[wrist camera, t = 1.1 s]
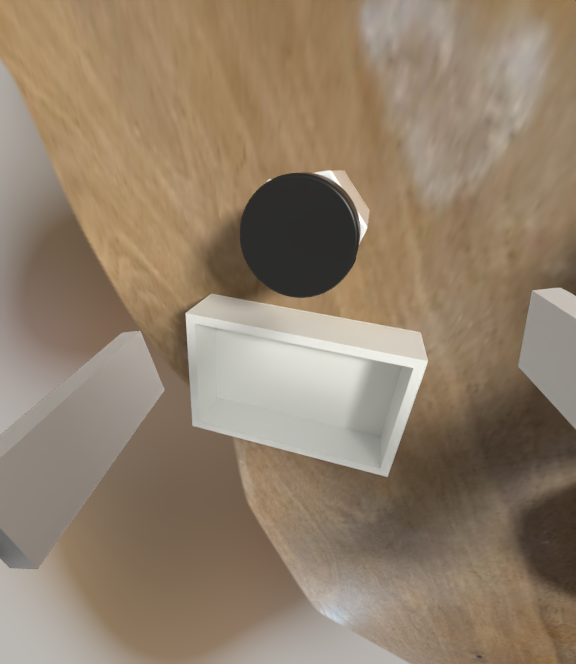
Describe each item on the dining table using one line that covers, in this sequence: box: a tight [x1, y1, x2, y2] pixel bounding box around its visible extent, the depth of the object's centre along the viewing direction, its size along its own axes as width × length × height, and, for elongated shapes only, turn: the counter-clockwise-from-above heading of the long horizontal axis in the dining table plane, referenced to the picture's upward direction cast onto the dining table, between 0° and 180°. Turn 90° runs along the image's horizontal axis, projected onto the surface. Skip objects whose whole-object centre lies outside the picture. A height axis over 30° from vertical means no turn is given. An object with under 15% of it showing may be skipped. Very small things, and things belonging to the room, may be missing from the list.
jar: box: [240, 170, 370, 298], centre depth 27 cm, size 9×8×12 cm
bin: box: [186, 294, 428, 477], centre depth 38 cm, size 24×16×6 cm, turn 85°
